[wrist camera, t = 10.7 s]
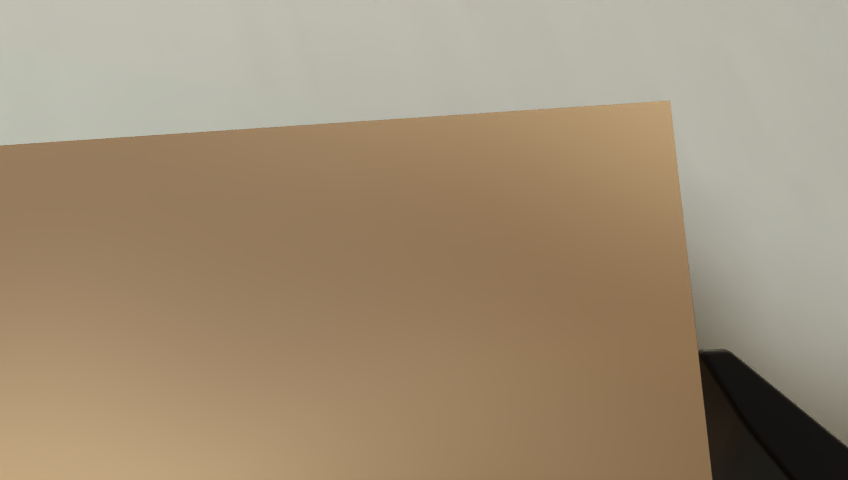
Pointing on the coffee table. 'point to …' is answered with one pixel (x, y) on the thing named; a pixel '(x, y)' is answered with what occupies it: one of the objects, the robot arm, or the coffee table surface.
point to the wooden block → (353, 303)
